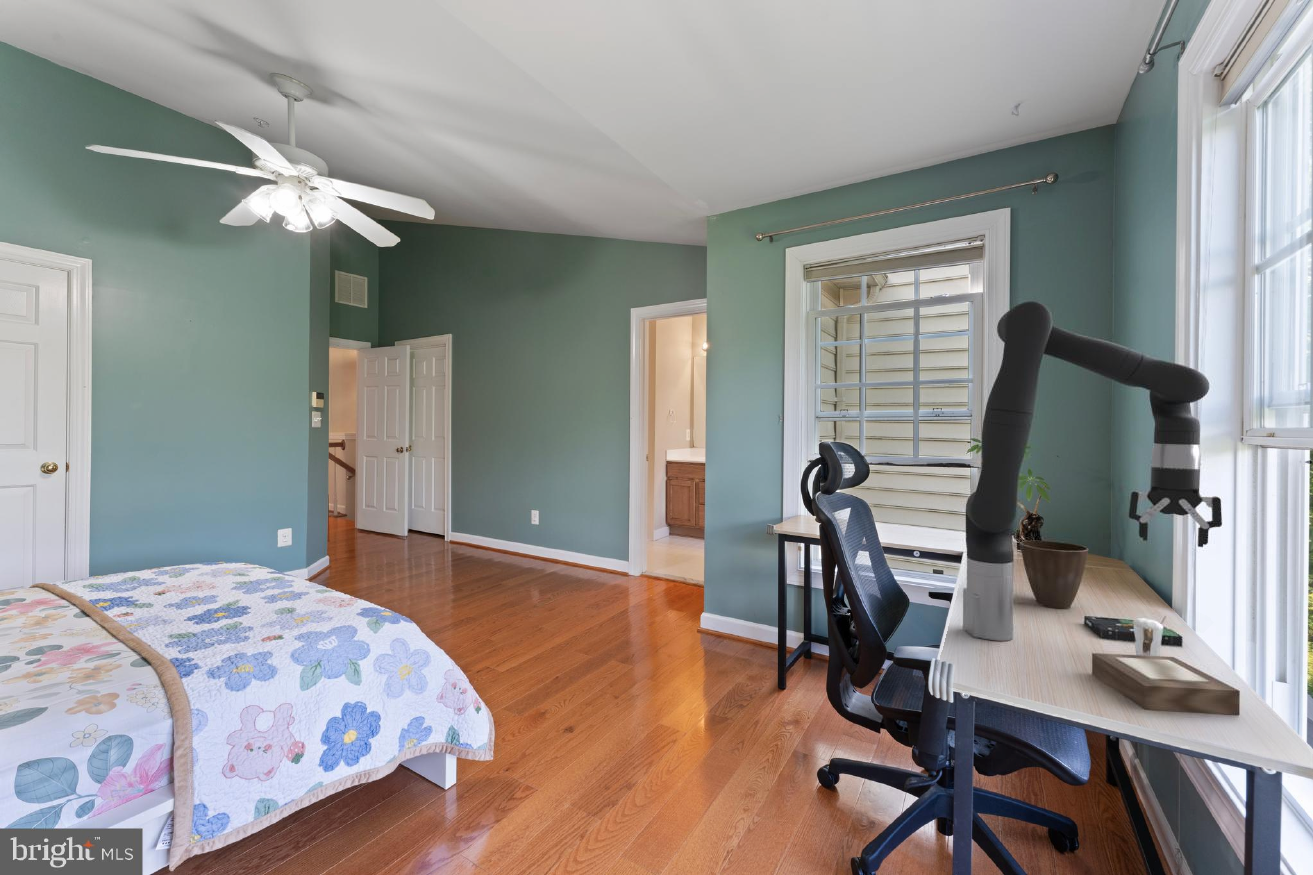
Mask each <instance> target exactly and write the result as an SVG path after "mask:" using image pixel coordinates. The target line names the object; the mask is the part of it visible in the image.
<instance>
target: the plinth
mask: <svg viewBox="0 0 1313 875" xmlns="http://www.w3.org/2000/svg"><path fill="white" fill-rule="evenodd" d="M1091 674H1092V675H1093V676H1095V678H1097V679H1098V680H1100V681H1102V682H1104V683H1105V684H1106V685H1108V686H1109V687H1111V688H1112V689H1114V690H1115V691H1117V692H1118V693H1120V694H1122V696H1125V697H1126V698H1127V699H1129V700H1130V701H1132V703H1133V702H1134V704H1137V705H1138V706H1140V707H1141V708H1142V709H1144V710H1145V711H1146V710H1147V711H1164V712H1165V711H1166V712H1183V713H1184V712H1185V713H1198V714H1199V713H1200V714H1213V715H1214V714H1215V715H1217V714H1219V715H1234V716H1240V708H1241V707H1240V704H1241V703H1240V698H1241V696H1240V695H1241V691H1240V690H1239V689H1237V688H1235V687H1233V686H1231V685H1229V684H1227V683H1226V682H1224V681H1221V680H1219V679H1217V678H1216V677H1214V676H1212V675H1209V674H1208V673H1206V672H1204V671H1202V670H1200V669H1199V668H1196V667H1194V666H1192V665H1190V664H1188V663H1186V662H1185V661H1182V660H1180V659H1178V658H1176V657H1174V656H1163V655H1162V656H1161V655H1160V656H1144V655H1136V654H1122V653H1121V654H1120V653H1117V654H1116V653H1100V652H1099V653H1098V652H1095V653H1094V652H1092V653H1091Z"/></svg>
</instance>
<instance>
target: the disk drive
mask: <svg viewBox="0 0 1313 875" xmlns="http://www.w3.org/2000/svg"><path fill="white" fill-rule="evenodd" d="M1083 620H1084V621H1083V622H1084V623H1083V625H1084V626H1086V628H1088V629H1089V630H1090V631H1091V632H1092V633H1094V634H1095V635H1096V636H1098V637H1099V638H1100V639H1102V640H1111V641H1122V642H1131V643H1135V636H1134V628H1133V621H1134V620H1135V619H1126V618H1116V617H1115V618H1113V617H1105V616H1094V615H1093V616H1091V615H1084V618H1083ZM1159 623H1160V624H1161V622H1159ZM1162 626H1163V633H1162V639H1161V646H1172V647H1181V648H1183V643H1184V642H1183V638H1184V637H1183V636H1182V635H1180V634H1179V633H1177V632H1176V631H1174V630H1173V629H1171V628H1168V627H1166V626H1164V625H1162Z"/></svg>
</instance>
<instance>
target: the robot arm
mask: <svg viewBox="0 0 1313 875" xmlns="http://www.w3.org/2000/svg"><path fill="white" fill-rule="evenodd" d="M1052 315H1053V314H1052V313H1051V310H1050V309H1049V307H1047V306H1046V305H1045V304H1043V303H1042V302H1039V301H1035V300H1030V301H1025V302H1021V303H1019V304H1017V305H1015V306H1014V307H1012V308H1010V309H1009V310H1008V311H1006V312H1005V313H1004V314H1003V315H1002V316H1001V318H999V320H998V323H997V327H996V331H997V335H998V337H999V339H1000V340H1001V341H1002V342H1003V343H1004V345H1003V353H1002V360H1001V364H1000V368H999V370H998V373H997V376H996V378H995V380H994V382H993V385H992V386H991V389H990V393H989V396H988V398H987V402H986V404H985V405H986V406H985V410H984V416H983V420H982V421H983V422H982V430H981V467H980V468H981V469H980V475H979V479H978V481H977V482H978V483H977V486H976V489H975V491H974V492H973V493H972V494H970V496H969V497H968V498H967V500H966V503H965V504H966V505H965V545H966V546H965V547H966V587H963V590H962V629H964V631H966V632H967V633H968V634H970V636H971V637H972V638H979V639H984V640H991V641H999V642H1001V641H1010V640H1012V639H1013V638H1014V547H1013V542H1012V541H1013V540H1012V524H1013V523H1014V521H1015V519H1016V516H1017V507H1018V505H1017V503H1018V488H1019V487H1018V486H1019V479H1020V478H1019V477H1020V476H1019V475H1020V471H1021V467H1022V463H1023V460H1024V456H1025V453H1026V450H1027V445H1028V442H1029V437H1030V433H1031V428H1032V422H1033V418H1034V412H1035V405H1036V398H1037V392H1038V385H1039V384H1038V383H1039V375H1040V374H1039V373H1040V368H1041V363H1042V360H1043V356H1044V355H1045V356H1049V357H1053V358H1055V359H1059V360H1062V361H1065V362H1067V363H1070V364H1072V365H1075V366H1077V367H1080V368H1083V369H1085V370H1087V371H1089V372H1091V373H1095V374H1097V375H1100V376H1102V377H1104V378H1107V379H1109V380H1112V381H1114V382H1117V383H1119V384H1121V385H1124V386H1127V387H1133V388H1142V389H1145V390H1148V391H1149V396H1148V397H1149V402H1150V408H1151V413H1152V417H1153V419H1154V420H1153V421H1154V429H1153V432H1154V433H1153V445H1152V447H1153V448H1152V451H1151V460H1150V466H1151V467H1150V487H1149V491H1148V492H1143V491H1142V492H1140V491H1137V490H1133V491H1131V492H1130V500H1129V509H1128V511H1129V512H1128V517H1129V519H1131V520H1135V521H1136V522H1138V523H1139V524H1138V536H1139V538H1142V541H1143V542H1148V534H1149V533H1148V532H1149V523H1148V521H1149V520H1151V518H1153V517H1154V516H1155V515H1157V514H1158V513H1161V514H1163V515H1177V516H1183V517H1184V516H1187V515H1190V517H1191V518H1192V519H1193V520H1194V521H1195V522H1196V523H1197V524H1198V525H1199V527H1198V528H1197V547H1199V548H1203V547H1204V546H1206V545H1207V544H1209V543H1208V542H1209V531H1210V529H1213V528H1221V527H1222V525H1223V517H1222V514H1223V513H1222V500H1221V498H1220V497H1219V496H1216V495H1214V496H1202V495H1201V494H1200V487H1201V486H1200V482H1201V466H1202V464H1201V461H1202V460H1201V449H1200V444H1201V443H1200V439H1201V437H1200V436H1201V425H1200V421H1199V419H1198V418H1196V417H1195V416H1193V415H1192V409H1191V408H1192V407H1191V403H1195V402H1197V401H1200V400H1201V399H1204V397H1205V396H1206V395H1207V394H1208V392H1209V390H1210V382H1209V379H1208V378H1207V377H1206V375H1204V374H1203V373H1202V372H1200V371H1199V370H1197V369H1195V368H1193V367H1189V366H1186V365H1184V364H1180V363H1175V362H1171V361H1167V360H1163V359H1159V358H1154V357H1151V356H1148V355H1147V354H1144V353H1142V352H1139V351H1136V350H1134V349H1132V348H1130V347H1126V346H1123V345H1121V344H1119V343H1116V342H1115V343H1114V342H1113V341H1107V340H1103V339H1099V338H1094V337H1090V336H1085V335H1081V334H1078V333H1074V332H1071V331H1068V330H1066V329H1064V328H1061V327H1059V326H1057V325H1055V324H1053V321H1054V320H1053V316H1052ZM1145 498H1147V500H1148V501H1150V503H1151V504H1152V506H1150V508H1149V509H1147V510H1146V511H1145V512H1144V513H1143V514H1142V515H1141V514H1138V513H1137V511H1138V503H1141V502H1143V501H1144V499H1145ZM1202 502H1204V503H1205V504H1206V506H1207V507H1208V508H1211V520H1207V521H1206V520H1205V519H1204V517H1202V516H1201V515H1200V514H1199V512H1197V510H1195V509H1196V508H1197V507H1198V506H1200V504H1201V503H1202Z"/></svg>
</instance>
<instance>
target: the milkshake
mask: <svg viewBox="0 0 1313 875" xmlns="http://www.w3.org/2000/svg"><path fill="white" fill-rule="evenodd" d="M1167 616H1168V615H1167ZM1167 616H1166V615H1164V616H1163V618H1162V621H1161V622H1159V621H1157V620H1154V619H1148V618H1146V617H1141V618H1140V617H1138V618H1135V619H1133V620H1134V621H1133V628H1134V636H1135V642H1134V646H1135V647H1134V648H1135V655H1144V656H1161V649H1162V648H1161V647H1162V645H1161V639H1162V633H1163V626H1164V625H1163V624H1164V622H1165V620H1166V618H1167ZM1160 623H1161V624H1160Z"/></svg>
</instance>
